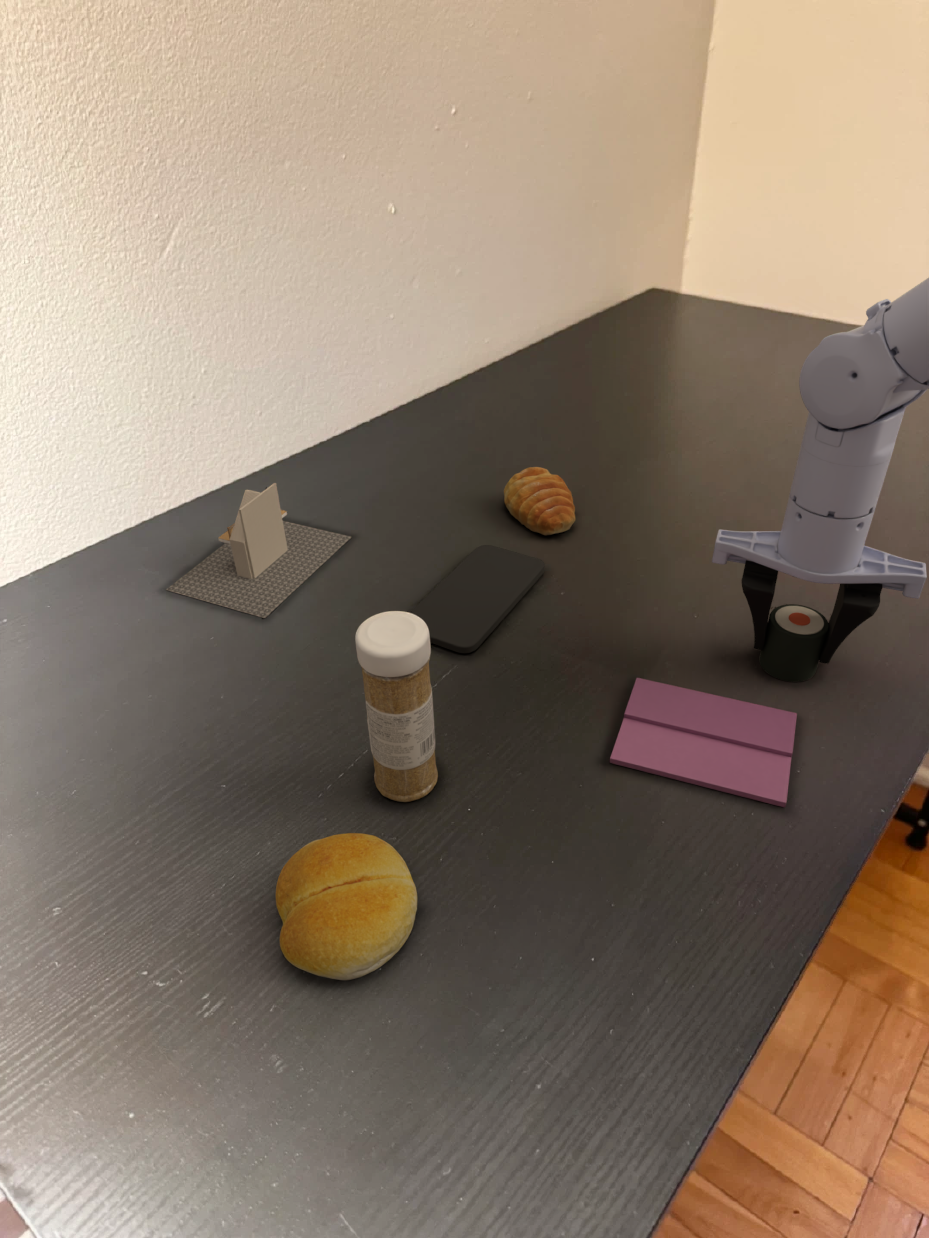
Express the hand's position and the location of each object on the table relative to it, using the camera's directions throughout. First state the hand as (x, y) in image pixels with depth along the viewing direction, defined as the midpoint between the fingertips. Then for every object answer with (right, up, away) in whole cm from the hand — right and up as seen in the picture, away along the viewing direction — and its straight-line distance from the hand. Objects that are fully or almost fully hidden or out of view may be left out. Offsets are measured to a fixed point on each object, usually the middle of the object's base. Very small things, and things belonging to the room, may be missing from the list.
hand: (791, 649), depth 67 cm
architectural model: (-46, +8, +15) cm, 49 cm away
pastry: (-18, +13, +22) cm, 31 cm away
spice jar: (-30, -9, -8) cm, 33 cm away
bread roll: (-33, -16, -16) cm, 40 cm away
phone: (-25, +4, +9) cm, 27 cm away
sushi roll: (0, -1, +1) cm, 2 cm away
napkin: (-9, -7, -6) cm, 12 cm away
